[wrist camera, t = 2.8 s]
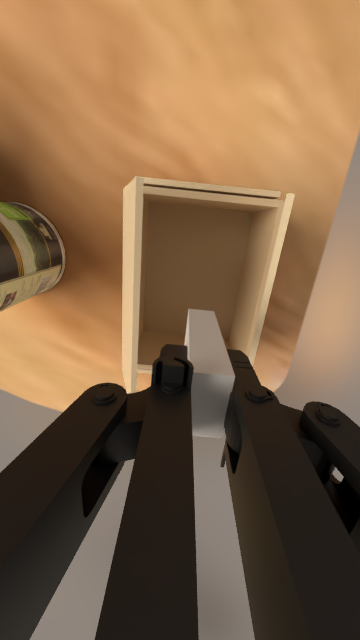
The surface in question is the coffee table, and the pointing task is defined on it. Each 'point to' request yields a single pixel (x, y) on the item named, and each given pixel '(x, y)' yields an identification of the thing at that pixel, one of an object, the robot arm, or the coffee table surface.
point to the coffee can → (27, 254)
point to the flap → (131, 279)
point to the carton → (203, 260)
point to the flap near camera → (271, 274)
